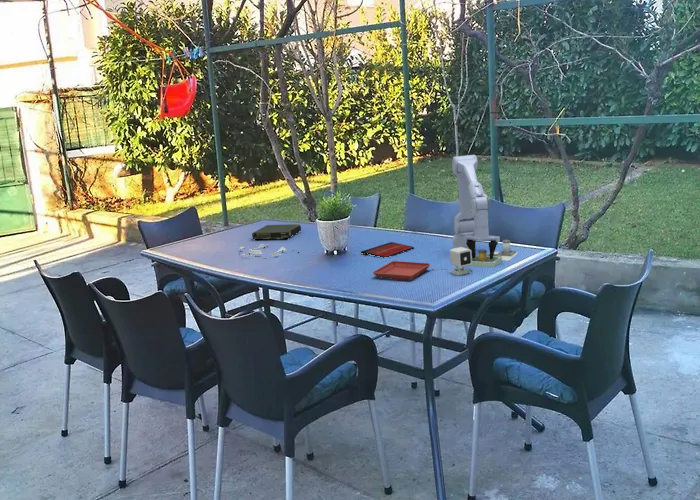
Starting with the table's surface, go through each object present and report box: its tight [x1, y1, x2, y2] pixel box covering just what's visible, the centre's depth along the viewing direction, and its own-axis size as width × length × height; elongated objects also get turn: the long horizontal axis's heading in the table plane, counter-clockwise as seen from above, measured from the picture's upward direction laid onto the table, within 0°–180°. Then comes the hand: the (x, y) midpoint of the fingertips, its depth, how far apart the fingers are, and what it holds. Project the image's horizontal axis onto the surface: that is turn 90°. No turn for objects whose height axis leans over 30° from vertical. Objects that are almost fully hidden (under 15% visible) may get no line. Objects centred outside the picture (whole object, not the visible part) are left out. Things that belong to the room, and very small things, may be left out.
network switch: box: [251, 223, 302, 240], centre depth 385 cm, size 23×23×5 cm
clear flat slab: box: [239, 242, 287, 256], centre depth 348 cm, size 35×24×3 cm
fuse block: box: [486, 249, 519, 262], centre depth 297 cm, size 12×13×2 cm
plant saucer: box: [372, 260, 431, 281], centre depth 286 cm, size 18×18×3 cm
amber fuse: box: [477, 249, 488, 262], centre depth 287 cm, size 3×3×6 cm
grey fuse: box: [501, 239, 511, 253], centre depth 298 cm, size 3×3×6 cm
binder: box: [360, 241, 415, 258], centre depth 327 cm, size 16×2×21 cm
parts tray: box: [467, 255, 503, 268], centre depth 288 cm, size 13×10×3 cm
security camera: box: [449, 247, 472, 276], centre depth 279 cm, size 6×7×10 cm
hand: (482, 258), depth 287 cm, fingers open, 7 cm apart
